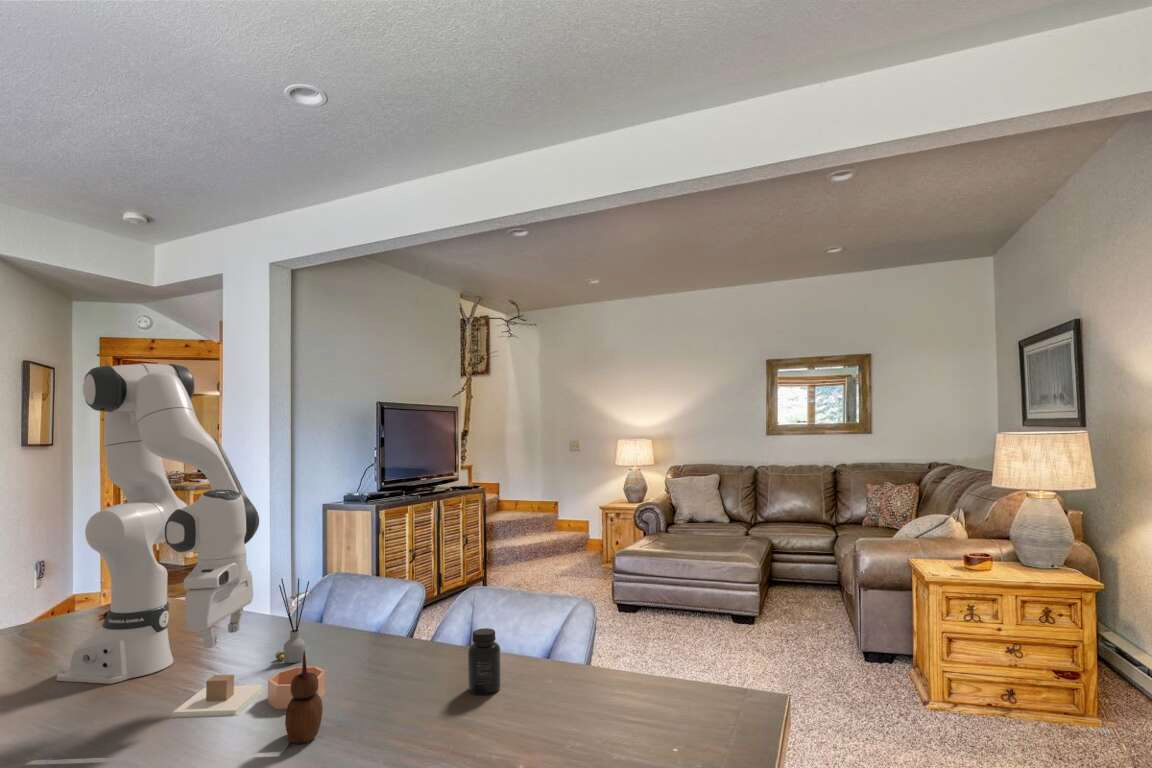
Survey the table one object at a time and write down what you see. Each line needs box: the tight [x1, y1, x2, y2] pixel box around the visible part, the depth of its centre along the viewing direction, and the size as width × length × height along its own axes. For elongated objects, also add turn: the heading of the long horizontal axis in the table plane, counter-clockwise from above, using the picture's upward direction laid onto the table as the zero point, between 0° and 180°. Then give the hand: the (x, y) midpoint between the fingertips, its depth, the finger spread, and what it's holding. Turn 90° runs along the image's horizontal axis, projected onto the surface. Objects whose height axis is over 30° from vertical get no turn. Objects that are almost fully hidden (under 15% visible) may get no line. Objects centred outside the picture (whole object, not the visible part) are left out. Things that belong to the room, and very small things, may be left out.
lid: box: [171, 674, 264, 716], centre depth 131 cm, size 12×12×5 cm
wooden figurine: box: [284, 649, 324, 744], centre depth 117 cm, size 7×6×15 cm
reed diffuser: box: [275, 578, 310, 664], centre depth 153 cm, size 10×7×20 cm
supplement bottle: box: [467, 628, 502, 696], centre depth 137 cm, size 7×7×12 cm
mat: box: [168, 687, 267, 719], centre depth 131 cm, size 13×13×1 cm
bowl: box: [267, 665, 327, 710], centre depth 132 cm, size 10×10×5 cm
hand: (222, 639), depth 131 cm, fingers open, 8 cm apart
